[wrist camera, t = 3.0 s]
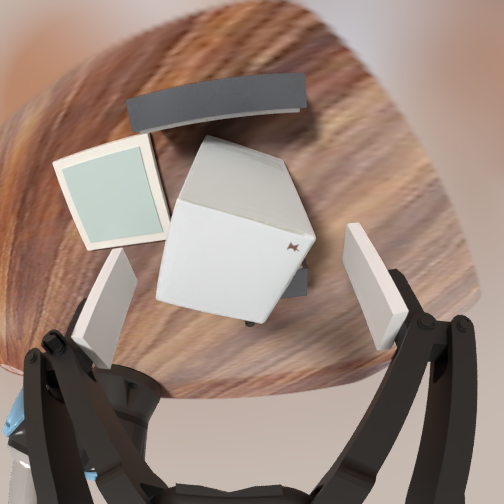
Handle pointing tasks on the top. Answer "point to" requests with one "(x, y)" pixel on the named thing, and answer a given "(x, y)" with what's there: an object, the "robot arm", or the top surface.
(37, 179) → the top surface
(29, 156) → the top surface
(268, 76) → the vise
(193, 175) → the supplement box
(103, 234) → the plate
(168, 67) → the top surface
